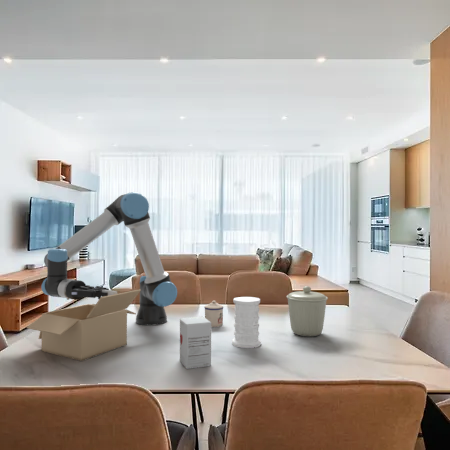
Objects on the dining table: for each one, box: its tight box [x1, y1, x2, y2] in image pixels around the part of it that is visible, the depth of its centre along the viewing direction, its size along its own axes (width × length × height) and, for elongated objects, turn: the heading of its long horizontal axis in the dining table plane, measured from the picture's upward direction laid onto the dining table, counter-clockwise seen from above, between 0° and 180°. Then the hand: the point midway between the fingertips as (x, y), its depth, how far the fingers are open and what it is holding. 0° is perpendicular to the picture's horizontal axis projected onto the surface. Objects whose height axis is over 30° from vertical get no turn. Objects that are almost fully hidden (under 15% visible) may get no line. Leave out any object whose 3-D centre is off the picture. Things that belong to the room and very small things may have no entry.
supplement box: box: [179, 316, 212, 370], centre depth 132 cm, size 9×9×15 cm
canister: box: [286, 285, 329, 337], centre depth 170 cm, size 18×18×21 cm
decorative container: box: [231, 296, 262, 349], centre depth 155 cm, size 12×12×18 cm
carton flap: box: [87, 288, 141, 318], centre depth 141 cm, size 1×20×10 cm
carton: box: [26, 303, 137, 362], centre depth 149 cm, size 26×37×14 cm
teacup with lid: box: [204, 300, 224, 328], centre depth 186 cm, size 12×9×12 cm
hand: (115, 295), depth 140 cm, fingers closed
